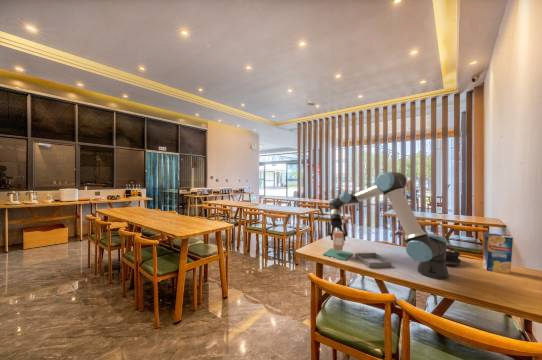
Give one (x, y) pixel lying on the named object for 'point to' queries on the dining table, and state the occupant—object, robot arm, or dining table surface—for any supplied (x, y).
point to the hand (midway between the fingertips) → (338, 244)
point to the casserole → (452, 256)
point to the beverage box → (497, 253)
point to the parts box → (338, 240)
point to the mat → (338, 254)
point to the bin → (372, 265)
